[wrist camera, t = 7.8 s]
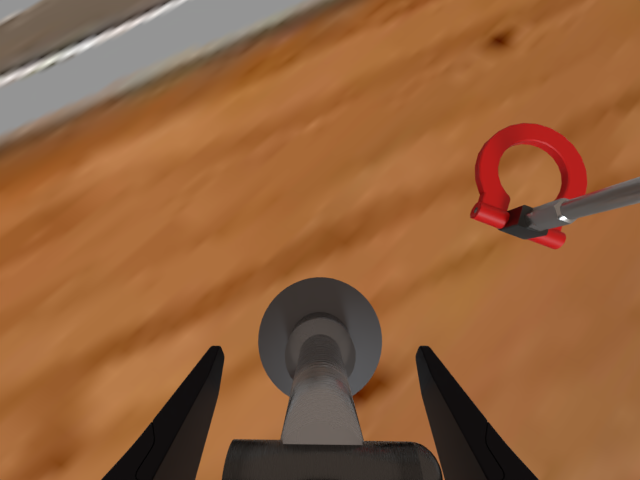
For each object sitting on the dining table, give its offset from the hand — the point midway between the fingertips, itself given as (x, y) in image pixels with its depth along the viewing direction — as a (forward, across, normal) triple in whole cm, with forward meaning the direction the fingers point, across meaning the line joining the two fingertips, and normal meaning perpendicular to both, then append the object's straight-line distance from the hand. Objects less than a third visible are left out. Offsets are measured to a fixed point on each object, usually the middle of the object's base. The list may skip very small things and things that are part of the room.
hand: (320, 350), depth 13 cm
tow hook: (+14, -16, -1) cm, 21 cm away
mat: (+5, 0, +7) cm, 9 cm away
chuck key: (+4, 0, +7) cm, 8 cm away
